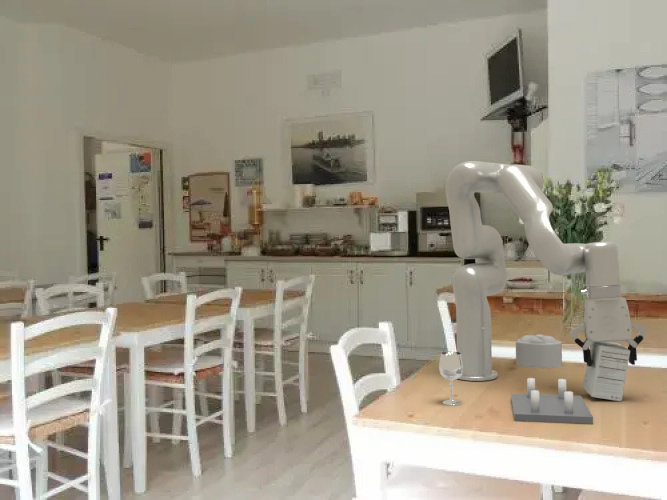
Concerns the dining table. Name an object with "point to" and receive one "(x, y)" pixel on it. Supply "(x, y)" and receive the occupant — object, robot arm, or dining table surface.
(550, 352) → the lumpy-topped squat cylinder
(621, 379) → the supplement box
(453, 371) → the wineglass
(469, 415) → the dining table surface
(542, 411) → the pin tray
